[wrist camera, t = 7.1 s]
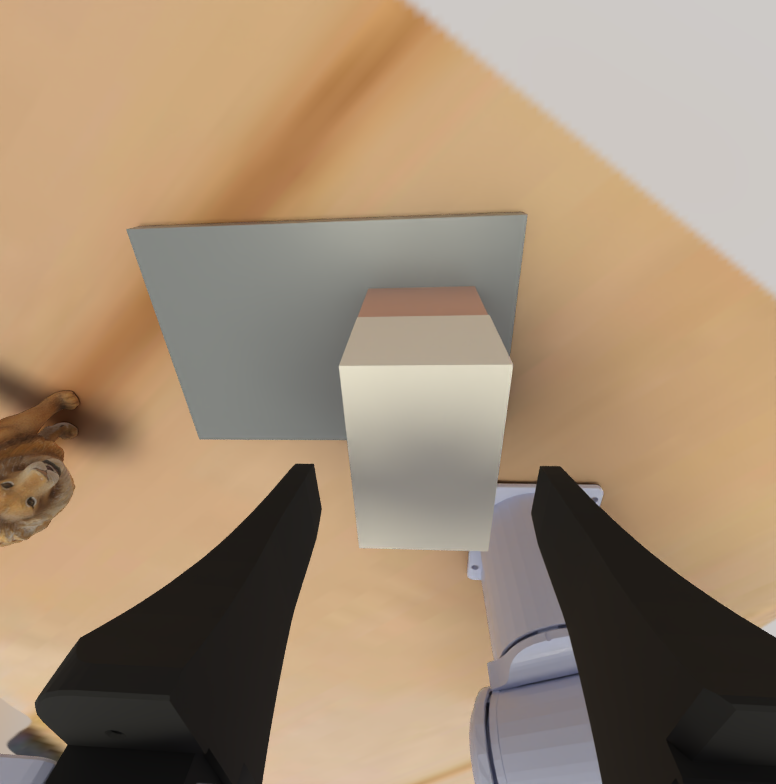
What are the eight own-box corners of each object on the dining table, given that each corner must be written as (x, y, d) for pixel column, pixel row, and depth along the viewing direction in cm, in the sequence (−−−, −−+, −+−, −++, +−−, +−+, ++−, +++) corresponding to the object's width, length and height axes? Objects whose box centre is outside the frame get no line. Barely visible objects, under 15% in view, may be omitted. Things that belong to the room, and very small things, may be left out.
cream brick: (474, 476, 19) (487, 551, 15) (370, 474, 19) (359, 548, 16) (489, 314, 15) (513, 364, 11) (357, 317, 15) (338, 366, 12)
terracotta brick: (464, 426, 22) (474, 477, 19) (377, 426, 23) (370, 476, 19) (474, 286, 18) (488, 316, 15) (368, 288, 19) (356, 319, 15)
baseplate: (496, 430, 24) (499, 440, 23) (207, 429, 25) (199, 439, 24) (521, 211, 18) (527, 214, 17) (139, 226, 19) (126, 229, 18)
